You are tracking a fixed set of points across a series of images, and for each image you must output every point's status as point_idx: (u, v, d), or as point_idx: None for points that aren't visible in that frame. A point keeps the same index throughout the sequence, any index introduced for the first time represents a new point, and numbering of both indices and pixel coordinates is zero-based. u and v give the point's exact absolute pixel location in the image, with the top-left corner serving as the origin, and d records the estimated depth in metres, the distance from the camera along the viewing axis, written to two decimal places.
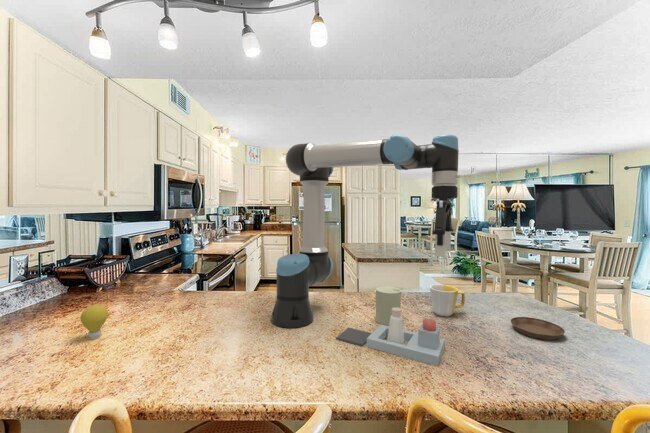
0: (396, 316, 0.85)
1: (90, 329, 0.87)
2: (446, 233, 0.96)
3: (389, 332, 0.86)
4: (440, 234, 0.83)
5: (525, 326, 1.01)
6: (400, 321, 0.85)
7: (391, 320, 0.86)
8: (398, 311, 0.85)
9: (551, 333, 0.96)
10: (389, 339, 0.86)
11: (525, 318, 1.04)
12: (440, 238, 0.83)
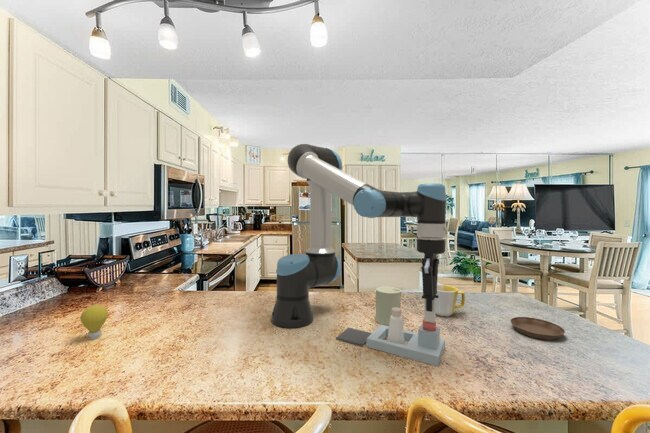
0: (396, 316, 0.85)
1: (90, 329, 0.87)
2: None
3: (389, 332, 0.86)
4: (429, 300, 0.80)
5: (525, 326, 1.01)
6: (400, 321, 0.85)
7: (391, 320, 0.86)
8: (398, 311, 0.85)
9: (551, 333, 0.96)
10: (389, 339, 0.86)
11: (525, 318, 1.04)
12: (429, 304, 0.80)
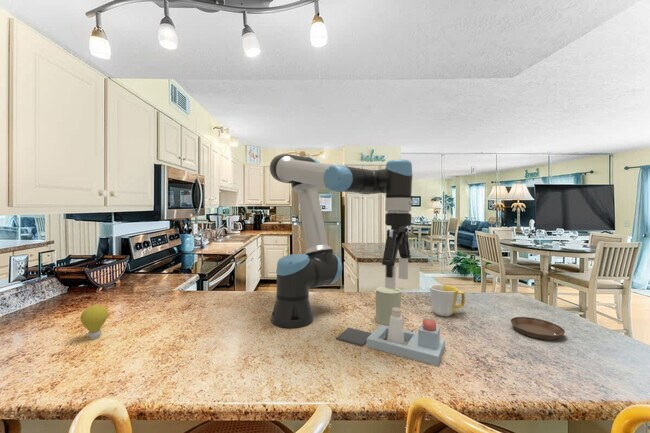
0: (396, 316, 0.85)
1: (90, 329, 0.87)
2: (403, 260, 0.92)
3: (389, 332, 0.86)
4: (389, 266, 0.79)
5: (525, 326, 1.01)
6: (400, 321, 0.85)
7: (391, 320, 0.86)
8: (398, 311, 0.85)
9: (551, 333, 0.96)
10: (389, 339, 0.86)
11: (525, 318, 1.04)
12: (389, 270, 0.79)
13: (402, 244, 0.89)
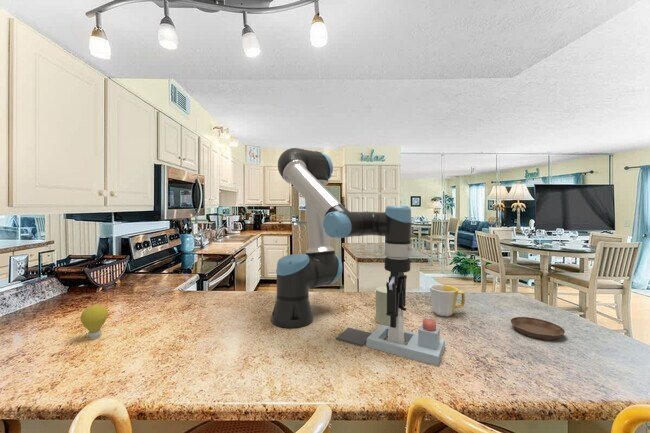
0: None
1: (90, 329, 0.87)
2: None
3: None
4: (393, 317, 0.83)
5: (525, 326, 1.01)
6: (400, 321, 0.85)
7: None
8: (398, 311, 0.85)
9: (551, 333, 0.96)
10: (389, 339, 0.86)
11: (525, 318, 1.04)
12: (393, 320, 0.83)
13: None
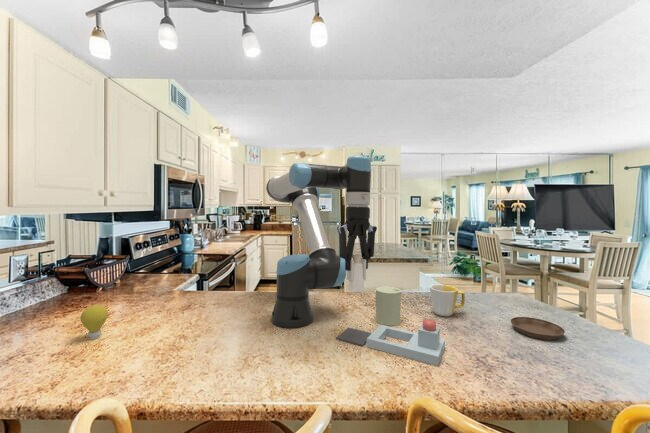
0: (354, 261, 0.90)
1: (90, 329, 0.87)
2: (361, 261, 0.92)
3: None
4: (346, 260, 0.89)
5: (525, 326, 1.01)
6: (356, 266, 0.89)
7: None
8: (355, 257, 0.90)
9: (551, 333, 0.96)
10: None
11: (525, 318, 1.04)
12: (346, 263, 0.89)
13: (362, 239, 0.91)
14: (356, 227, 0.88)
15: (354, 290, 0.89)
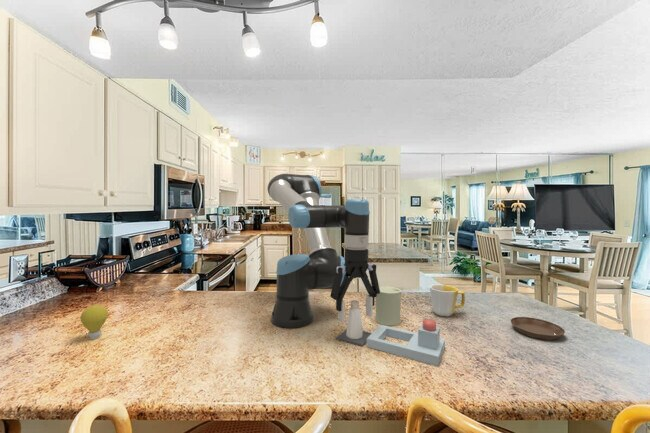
0: (352, 308, 0.90)
1: (90, 329, 0.87)
2: (368, 298, 0.93)
3: None
4: (336, 300, 0.88)
5: (525, 326, 1.01)
6: (354, 313, 0.89)
7: (349, 311, 0.91)
8: (353, 303, 0.90)
9: (551, 333, 0.96)
10: None
11: (525, 318, 1.04)
12: (337, 304, 0.88)
13: (364, 279, 0.92)
14: (355, 270, 0.88)
15: (352, 337, 0.89)
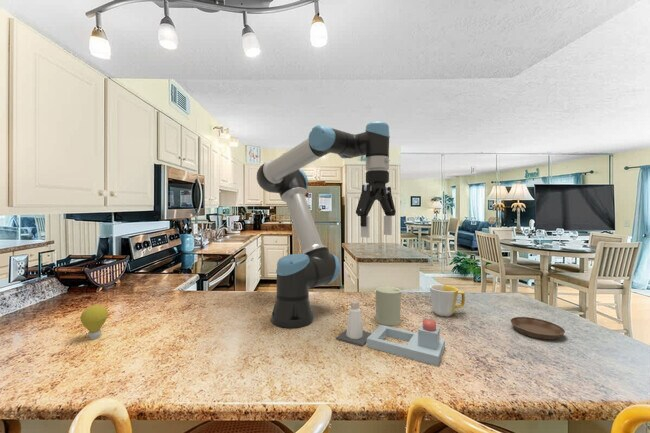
0: (352, 308, 0.90)
1: (90, 329, 0.87)
2: (387, 217, 0.99)
3: None
4: (362, 215, 0.88)
5: (525, 326, 1.01)
6: (354, 313, 0.89)
7: (349, 311, 0.91)
8: (353, 303, 0.90)
9: (551, 333, 0.96)
10: None
11: (525, 318, 1.04)
12: (362, 219, 0.88)
13: (383, 201, 0.96)
14: (379, 190, 0.91)
15: (352, 337, 0.89)
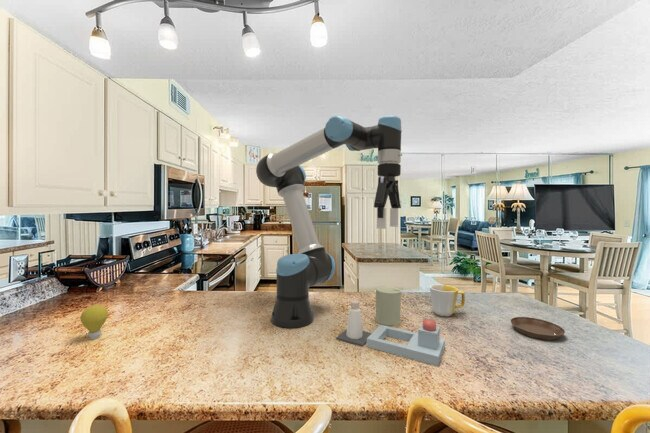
0: (352, 308, 0.90)
1: (90, 329, 0.87)
2: (394, 210, 1.02)
3: None
4: (380, 207, 0.89)
5: (525, 326, 1.01)
6: (354, 313, 0.89)
7: (349, 311, 0.91)
8: (353, 303, 0.90)
9: (551, 333, 0.96)
10: None
11: (525, 318, 1.04)
12: (380, 211, 0.89)
13: (393, 194, 0.99)
14: (393, 182, 0.94)
15: (352, 337, 0.89)
